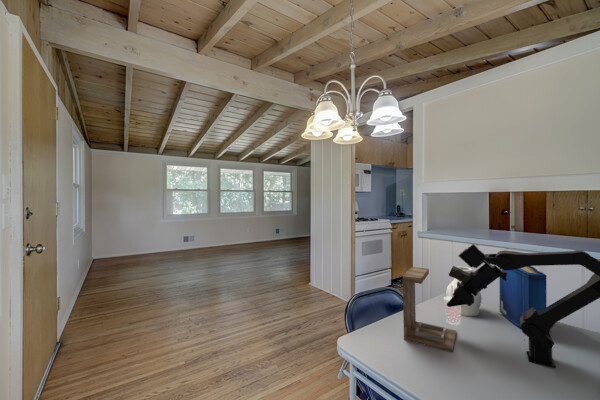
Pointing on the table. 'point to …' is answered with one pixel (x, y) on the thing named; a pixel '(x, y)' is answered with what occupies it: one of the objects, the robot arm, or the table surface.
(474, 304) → the vase
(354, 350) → the table surface
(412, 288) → the wooden headphone stand
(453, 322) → the beverage cup
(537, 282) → the book
